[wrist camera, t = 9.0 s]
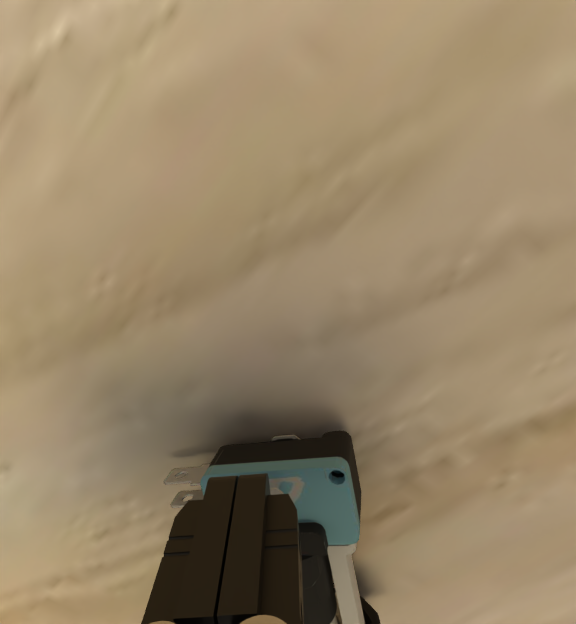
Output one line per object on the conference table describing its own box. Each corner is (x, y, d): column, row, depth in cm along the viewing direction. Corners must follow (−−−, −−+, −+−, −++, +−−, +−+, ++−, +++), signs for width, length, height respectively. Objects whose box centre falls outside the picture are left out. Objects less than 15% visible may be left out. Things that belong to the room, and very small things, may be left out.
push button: (194, 424, 17) (247, 625, 19) (118, 518, 12) (202, 779, 14) (360, 408, 15) (399, 629, 17) (355, 509, 10) (411, 804, 12)
